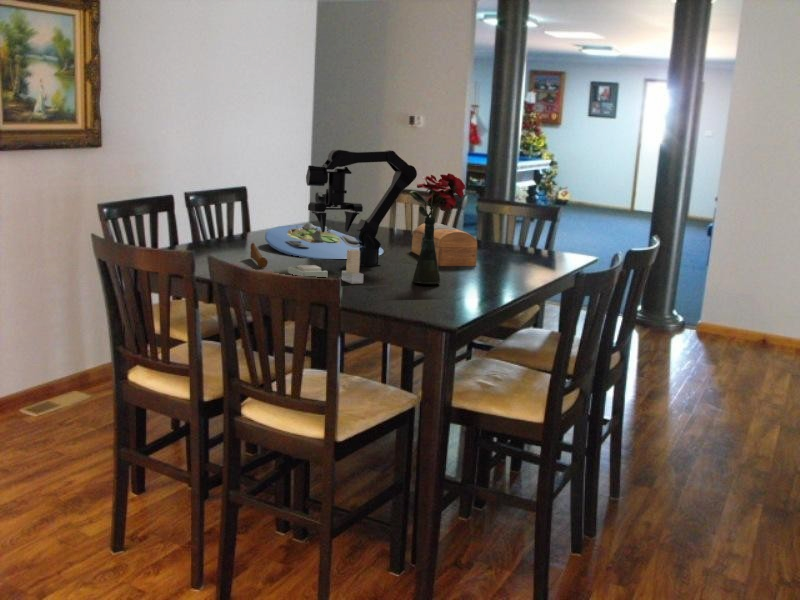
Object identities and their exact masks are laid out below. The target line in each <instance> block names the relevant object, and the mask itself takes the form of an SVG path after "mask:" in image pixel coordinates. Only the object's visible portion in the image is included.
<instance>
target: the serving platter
mask: <svg viewBox="0 0 800 600" xmlns="http://www.w3.org/2000/svg"><path fill="white" fill-rule="evenodd" d="M264 238H265V239H264V240H265V241H266V243H267V244H268V246H270V247H271V248H273V249H274V250H276V251H278V252H280V253H283V254H285V255H288V256H291V255H293V256H292V257H295V256H299V257H306V258H305V259H309V258H313V259H312V260H320V259H347V250H354V249H356V250H359V248H360V247H362V246H360V244H359V241H357V240H356V238H355V236H351V235H348V234H345V233H342V232H340V231H337V230H334V229H331V226H330V227H329V228H328V226H325V231H324V232H322V231H321V227H320V226H318V225H313V224H312V222H309V223H305V224H304V225H299V224H297V225H296V224H294V225H293V224H292V225H281V226H280V225H279V226H275V227H273V228H272V227H271V228H270V229H268V230H267V231H266V232H265V234H264ZM384 252H385V251H384V249H383V248H382V247H381V246H380V248H379V256H382V255H383V254H384ZM299 257H298V258H299Z"/></svg>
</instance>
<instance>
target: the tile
mask: <svg viewBox="0 0 800 600" xmlns="http://www.w3.org/2000/svg"><path fill="white" fill-rule="evenodd" d="M297 266H298V270H301V271H303V272H306V271H322V267H321V266H318V265H316V264H305V265H304V264H301V265H299V264H298V265H297Z"/></svg>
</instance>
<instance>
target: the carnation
mask: <svg viewBox="0 0 800 600" xmlns="http://www.w3.org/2000/svg"><path fill="white" fill-rule="evenodd" d="M439 176H440V179H438V180H437V178H436V176H435V175H434V174H430V176H429V175H425V176H422V178H421V179H422V180H425V182H426V183H425V182H424V181H422V182H421V183H417V185H416V188H417V189H421V188H424V189H426V192H428V195H429V197H428V199H425V197H424V196H423V195H422V194H421V193H419V192H418V191H416V190H411V191H409V193H408V194H409V195H410V196H411V197H412V199H413V200H415V201H417V202H418V203H421V204H423V205H424V207H423V206H419V208H418V212H419V214H420V215H422V216H424V222H423V224H424V223H425V230H424V231H425V234H424V240H423V245H422V249H421V252H420V255H418V256H419V257H418V259H417V263H416V266H415V267H416V268H415V270H414V273H413V278H412V282H413V284H416V283H417V284H418V283H419V284H420V285H435V286H436V285H437V284H440V283H441V277H440V272H439V266H438V264H437V259H436V251H435V244H434V224H435V223H436V222H435V221H436V220H435V219H436V217H434V215H435V213H436V211H437V209H438V207H439V210H440V211H443V212H446V211H447V212H448V211H452V209H454V207H455V206H456V204H457V198H456V197H455V195H454V194H456V196H458V198H459V199H462V198H463V197H464V190H465V189H466V184H465V183H464V181H463V180H462V179H461V178H460V177H457V176H455V175H454V174H452V173H446V174H439ZM426 205H427V206H429V210H430V211H429V213H428V210H427V207H426ZM434 208H435V209H434ZM433 210H434V211H433ZM430 216H431V217H430Z"/></svg>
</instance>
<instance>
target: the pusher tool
mask: <svg viewBox="0 0 800 600" xmlns="http://www.w3.org/2000/svg"><path fill="white" fill-rule="evenodd" d="M345 265H346V268H345V270H341V279H342V280H341V281H343V282H346V283H348V284H351V285H355V284H358V285H359V284H364V273H362V272H360V266H361V265H360V251H359V250H356V249H354V250H347V260H346V264H345Z"/></svg>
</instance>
